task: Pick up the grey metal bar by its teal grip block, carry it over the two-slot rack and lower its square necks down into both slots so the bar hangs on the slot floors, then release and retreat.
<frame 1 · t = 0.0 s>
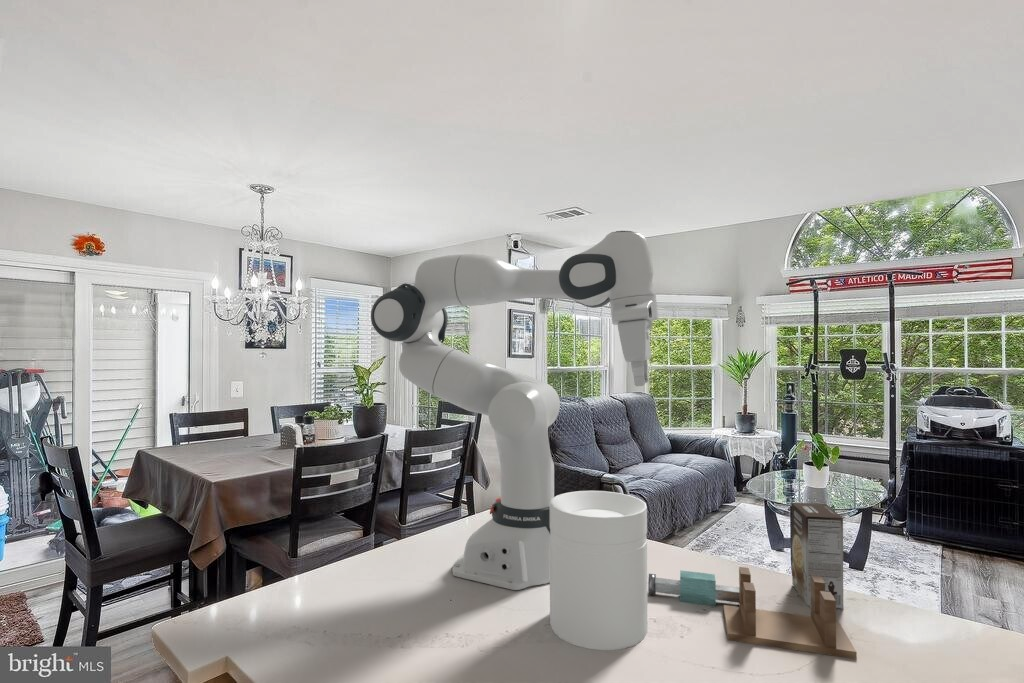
hand: (641, 384, 105), 39 cm above the table, tool pointing down, fingers open, 8 cm apart
rack: (784, 632, 87), on the table
canister: (598, 625, 90), on the table
coffee box: (816, 597, 100), on the table
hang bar: (697, 599, 99), on the table
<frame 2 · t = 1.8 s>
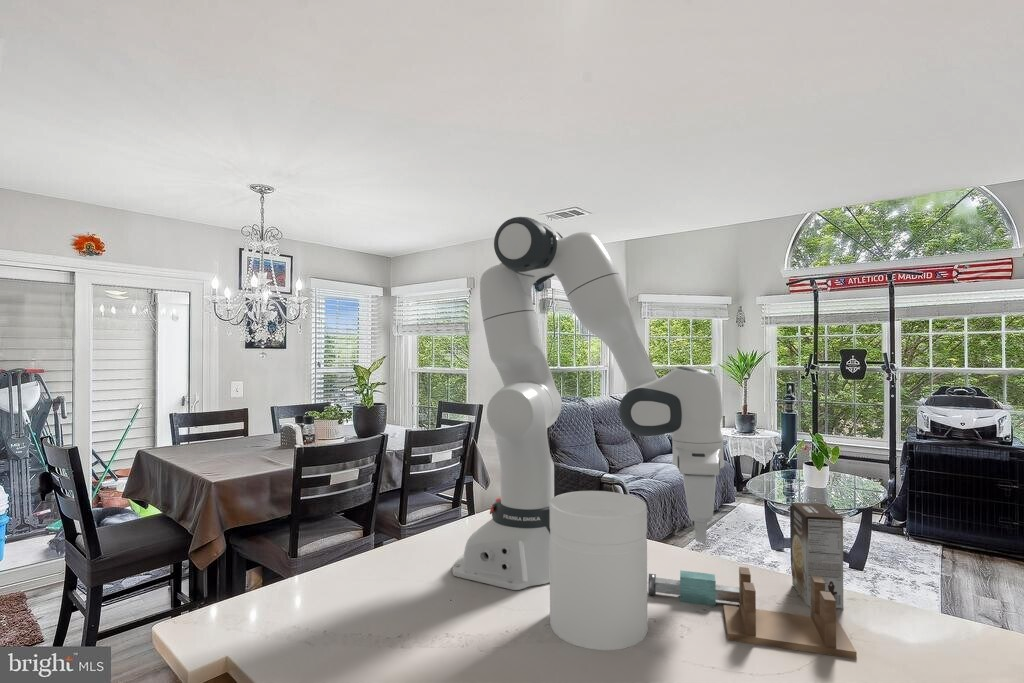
hand: (700, 531, 99), 12 cm above the table, tool pointing down, fingers open, 8 cm apart
nothing on the table moved.
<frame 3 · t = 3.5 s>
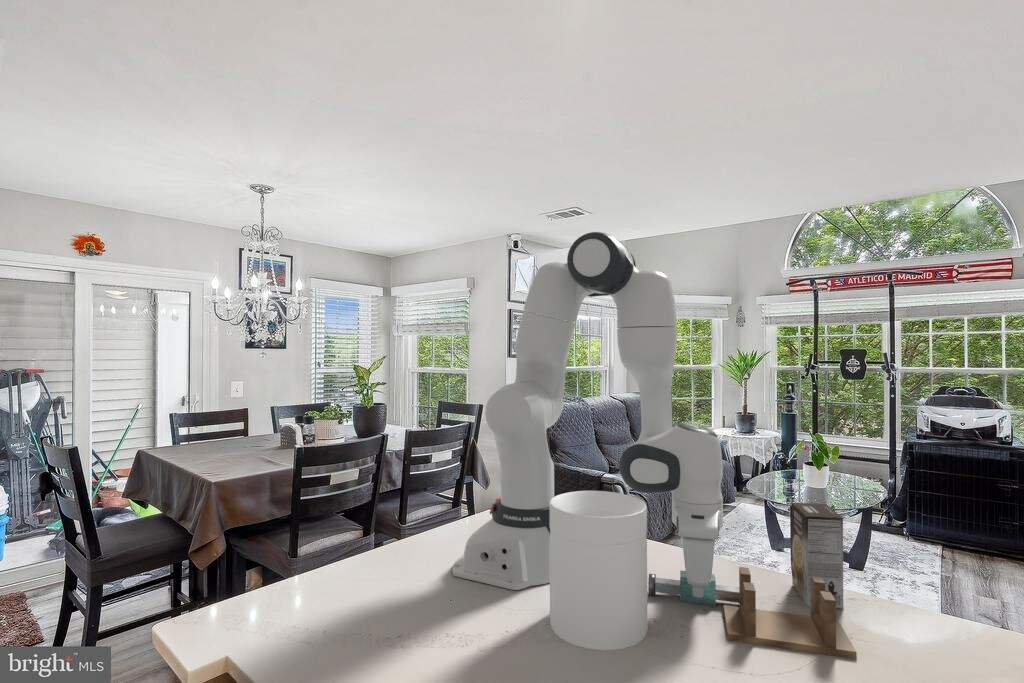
hand: (697, 590, 99), 2 cm above the table, tool pointing down, fingers closed on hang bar, 3 cm apart
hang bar: (697, 599, 99), on the table, touching gripper
everything else where it was.
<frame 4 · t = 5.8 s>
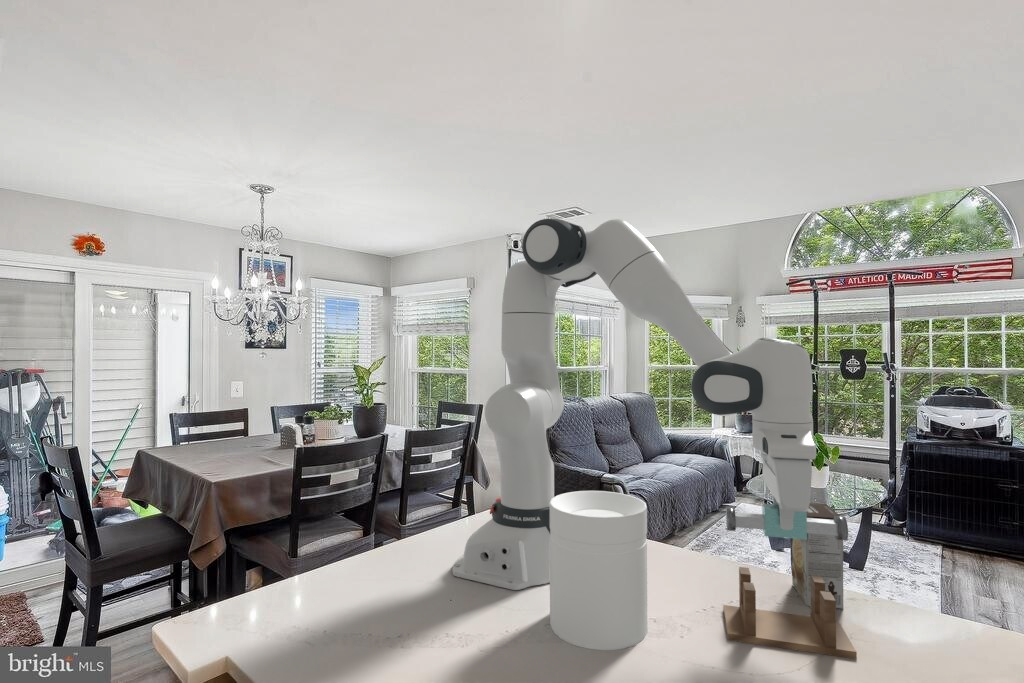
hand: (783, 524, 88), 17 cm above the table, tool pointing down, fingers closed on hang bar, 3 cm apart
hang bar: (784, 534, 88), point 16 cm above the table, touching gripper
everything else where it was.
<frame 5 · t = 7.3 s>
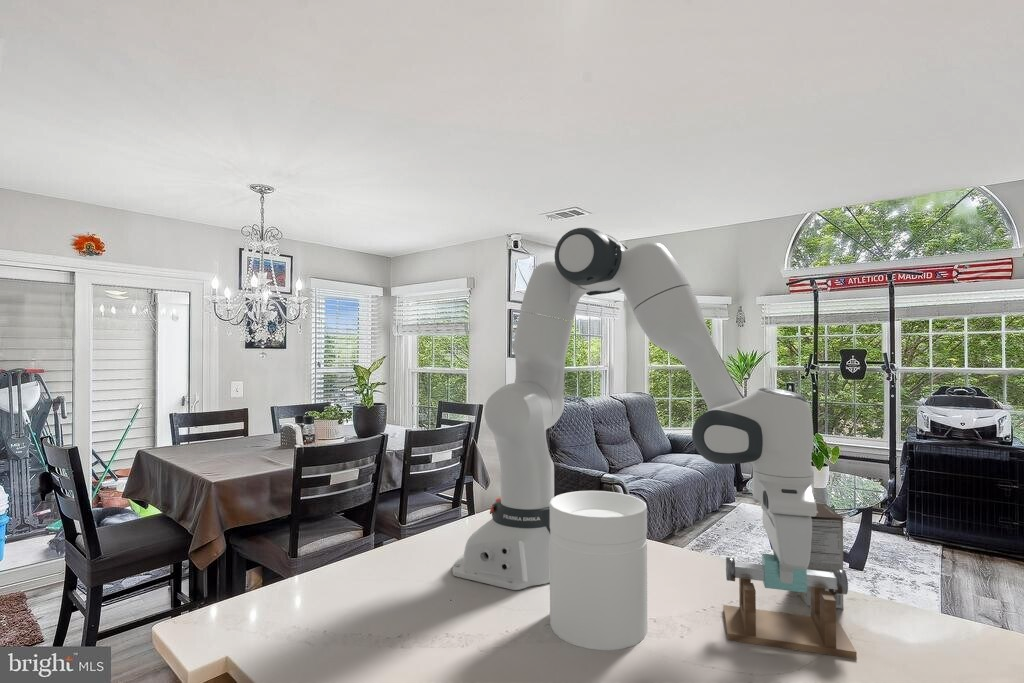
hand: (783, 575, 87), 9 cm above the table, tool pointing down, fingers closed on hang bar, 3 cm apart
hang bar: (783, 586, 87), point 7 cm above the table, touching gripper
everything else where it was.
when the fingers open (5 cm above the table, at t = 8.6 s): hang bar stays where it is, resting on rack.
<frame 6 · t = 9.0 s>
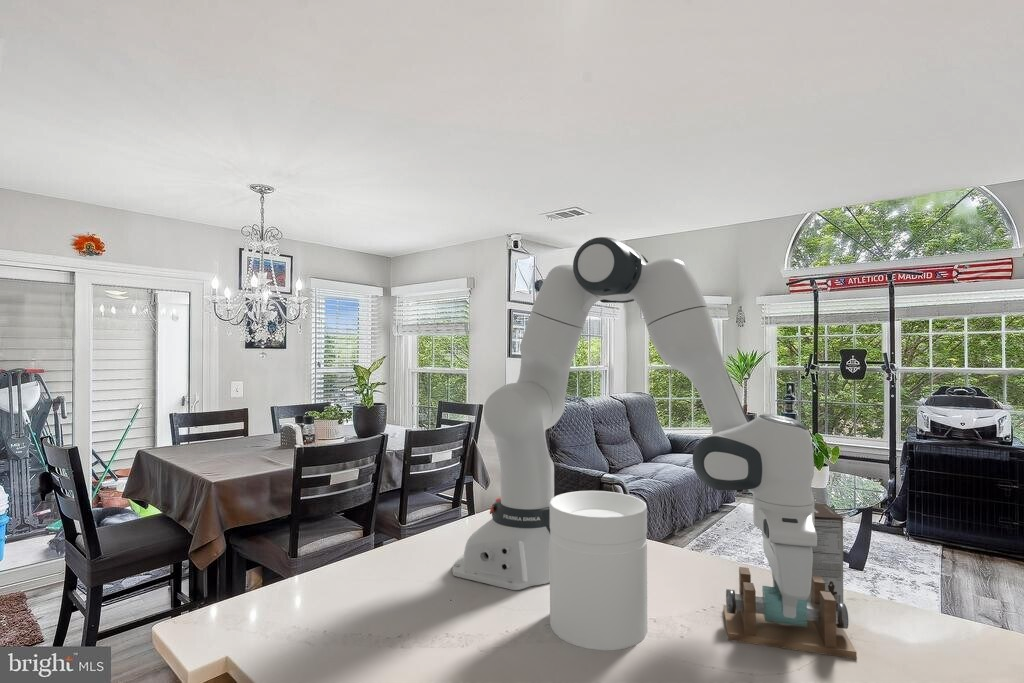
hand: (783, 603, 87), 5 cm above the table, tool pointing down, fingers open, 7 cm apart
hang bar: (784, 619, 87), point 2 cm above the table, touching rack
everything else where it was.
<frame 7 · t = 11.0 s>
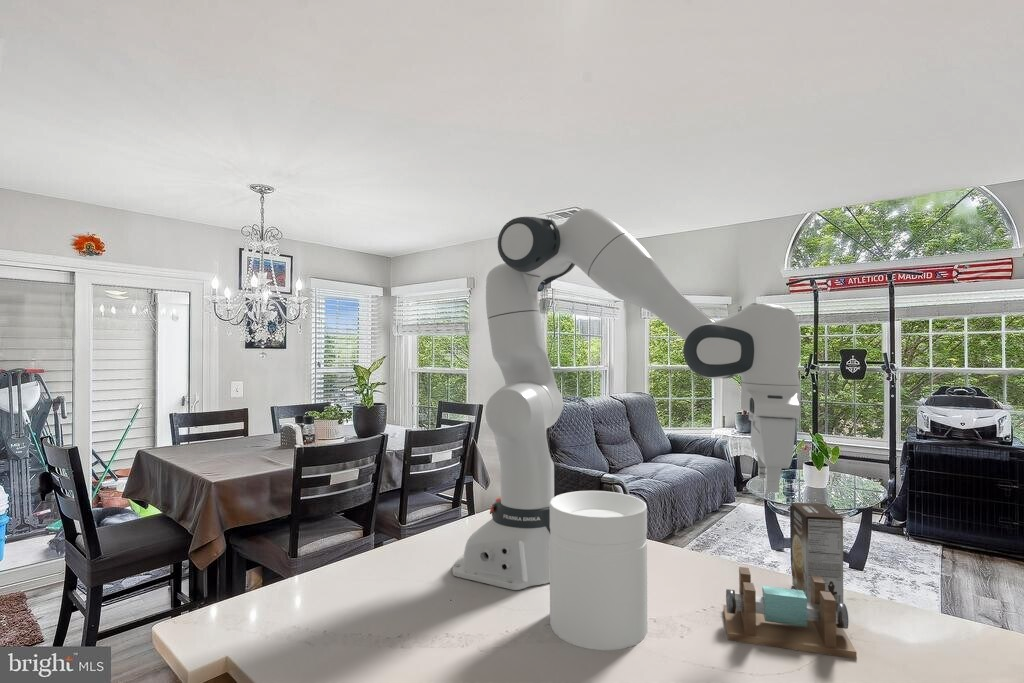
hand: (768, 484, 90), 23 cm above the table, tool pointing down, fingers open, 8 cm apart
nothing on the table moved.
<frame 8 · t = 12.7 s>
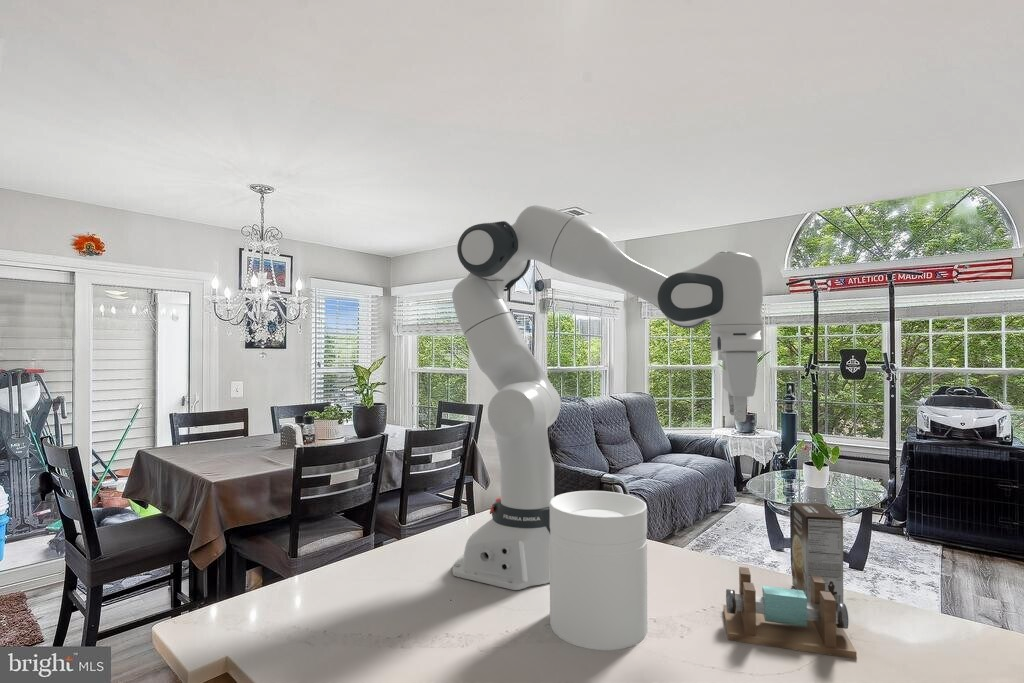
hand: (737, 418, 98), 33 cm above the table, tool pointing down, fingers open, 8 cm apart
nothing on the table moved.
at the end: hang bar 0.0 cm off-centre on the rack, point 2.1 cm above the rack's base; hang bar tilted 0°; the gripper is holding nothing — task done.
